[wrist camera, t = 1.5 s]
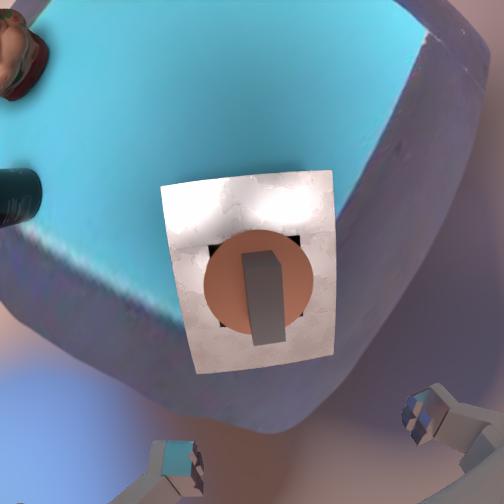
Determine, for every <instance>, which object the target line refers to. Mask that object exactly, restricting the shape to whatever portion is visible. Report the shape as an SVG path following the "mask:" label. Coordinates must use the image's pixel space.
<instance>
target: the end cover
mask: <svg viewBox="0 0 504 504" xmlns="http://www.w3.org/2000/svg"><path fill="white" fill-rule="evenodd" d="M313 283H314V278H313V271H312V266H311V264H310V261H309V259H308V257H307V256H306V254H305V253H304V251H303V250H302V249H301V248H300V247H299V246H298V245H297V244H296V243H295V242H294V241H292V240H291V239H289V238H288V237H286V236H284V235H282V234H280V233H277V232H273V231H269V230H251V231H246V232H243V233H240V234H237V235H235V236H233V237H231V238H230V239H228V240H226V241H225V242H224V243H223V244H222V245H220V246H219V247H218V249H217V250H216V251H215V252H214V254H213V255H212V257H211V258H210V260H209V262H208V265H207V268H206V271H205V276H204V286H203V287H204V295H205V299H206V302H207V305H208V307H209V309H210V310H211V312H212V313H213V315H214V316H215V317H216V318H217V319H218V320H219V321H220V322H221V323H222V324H224V325H225V326H226V327H228V328H230V329H232V330H234V331H237V332H240V333H243V334H249V335H252V340H253V345H254V346H259V345H266V344H273V343H279V342H286V333H285V327H286V326H288V325H290V324H291V323H292V322H294V321H295V320H296V319H297V318H298V317H299V316H300V315H301V314H302V312H303V311H304V310H305V308H306V306H307V305H308V303H309V301H310V298H311V295H312V291H313Z"/></svg>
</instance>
